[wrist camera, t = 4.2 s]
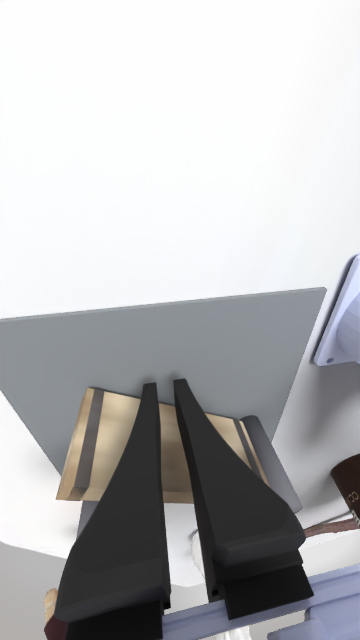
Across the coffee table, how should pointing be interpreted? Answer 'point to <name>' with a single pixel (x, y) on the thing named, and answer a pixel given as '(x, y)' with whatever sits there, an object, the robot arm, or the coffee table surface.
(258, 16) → the coffee table surface
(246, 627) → the sitting furry creature
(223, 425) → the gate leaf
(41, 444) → the gate frame
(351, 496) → the coffee mug
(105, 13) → the coffee table surface
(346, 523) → the natural artifact
